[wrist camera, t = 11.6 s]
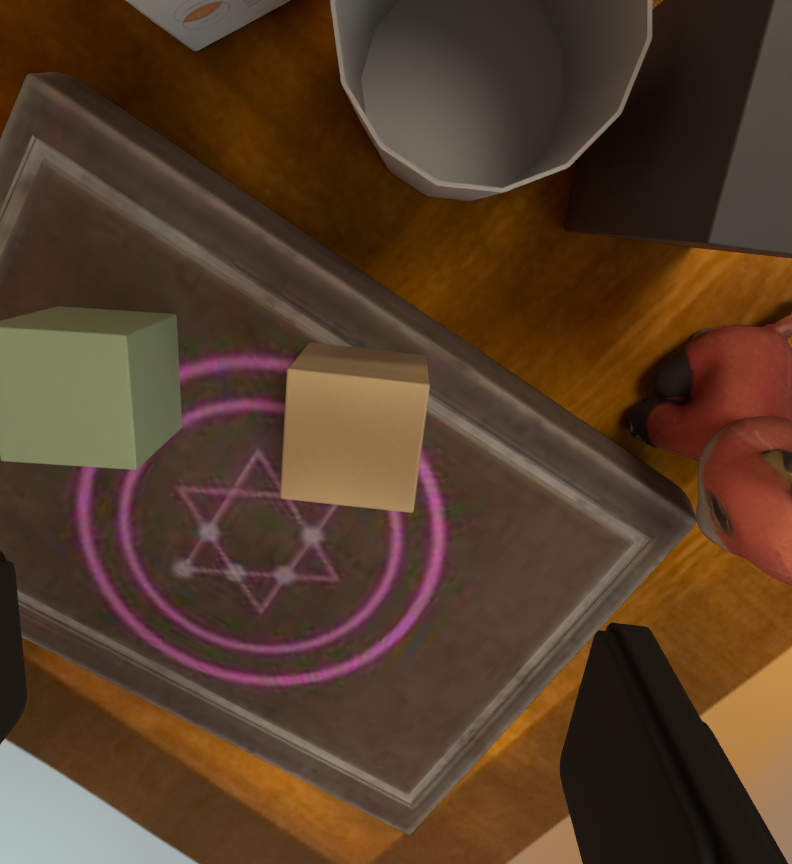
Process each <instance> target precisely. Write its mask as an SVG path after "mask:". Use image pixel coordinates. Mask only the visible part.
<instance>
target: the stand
mask: <svg viewBox="0 0 792 864" xmlns="http://www.w3.org/2000/svg"><path fill="white" fill-rule="evenodd" d="M564 230H565V231H571V232H578V233H586V234H594V235H601V236H609V237H617V238H624V239H632V240H640V241H648V242H655V243H663V244H671V245H678V246H686V247H694V248H703V249H712V250H721V251H730V252H739V253H749V254H758V255H767V256H776V257H785V258H792V0H664V1H662V2H661V3H660V4H659V5H658V6H657V7H655V8H654V9H653V10H652V40H651V42H650V45H649V47H648V50H647V52H646V55H645V57H644V60H643V62H642V64H641V67H640V69H639V72H638V74H637V77H636V79H635V82H634V84H633V86H632V89H631V91H630V94H629V96H628V99H627V101H626V104H625V106H624V109H623V111H622V113H621V115H620V116H619V117H618V118H617V119H616V120H615V121H614V122H613V123H612V124H611V125H610V126H609V127H608V128H607V129H606V130H605V131H604V132H603V133H602V134H601V135H600V136H599V137H598V138H597V139H596V140H595V141H594V142H593V143H592V144H591V145H590V146H589V147H588V148H587V149H586V150H585V151H584V152H583V153H582V154H581V155H580V156H579V157H578V162H577V167H576V172H575V177H574V182H573V187H572V192H571V198H570V203H569V208H568V213H567V218H566V223H565V228H564Z"/></svg>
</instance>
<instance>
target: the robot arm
mask: <svg viewBox="0 0 792 864" xmlns="http://www.w3.org/2000/svg"><path fill="white" fill-rule="evenodd" d="M26 700H27V689H26V679H25V668H24V658H23V647H22V636H21V626H20V615H19V605H18V594H17V583H16V573H15V567H14V564H13V563H12V562H11V561H7V560H6V557H5V555H4V554H3V552H1V551H0V744H1V742H2V741H3V740H4V739H5V737H6V736H7V735H8V734H9V732H10V731H11V730H12V728H13V727H14V726H15V724H16V723H17V722H18V720H19V719H20V717H21V715H22V713H23V711H24V708H25V705H26ZM560 776H561V782H562V786H563V790H564V794H565V798H566V801H567V805H568V809H569V813H570V817H571V820H572V824H573V828H574V832H575V836H576V840H577V843H578V847H579V851H580V855H581V858H582V862H583V864H788V863H787V861H786V859H785V857H784V856H783V854H782V852H781V851H780V849H779V847H778V845H777V844H776V842H775V840H774V838H773V837H772V835H771V833H770V831H769V830H768V828H767V826H766V824H765V823H764V821H763V819H762V817H761V816H760V814H759V812H758V810H757V809H756V807H755V805H754V804H753V802H752V800H751V798H750V797H749V795H748V793H747V791H746V789H745V788H744V786H743V784H742V783H741V781H740V779H739V777H738V775H737V774H736V772H735V770H734V769H733V767H732V765H731V763H730V762H729V760H728V758H727V756H726V755H725V753H724V751H723V749H722V748H721V746H720V745H719V743H718V741H717V739H716V737H715V735H714V734H713V732H712V731H711V729H710V728H709V727H708V725H707V724H706V723H704V722H703V721H702V720H701V719H700V717H699V715H698V713H697V711H696V710H695V708H694V706H693V704H692V703H691V701H690V699H689V697H688V696H687V694H686V692H685V690H684V688H683V687H682V685H681V683H680V681H679V680H678V678H677V676H676V674H675V673H674V671H673V669H672V667H671V665H670V664H669V662H668V660H667V658H666V657H665V655H664V653H663V651H662V650H661V648H660V646H659V644H658V643H657V641H656V639H655V637H654V635H653V634H652V632H651V631H650V629H649V628H647V627H644V626H636V625H627V624H619V623H611V624H609V625H608V626H607V628H606V631H600V630H599V631H597V632H596V634H595V636H594V639H593V642H592V646H591V650H590V653H589V657H588V660H587V664H586V668H585V671H584V675H583V678H582V682H581V686H580V689H579V693H578V696H577V700H576V703H575V707H574V711H573V714H572V718H571V721H570V725H569V729H568V732H567V736H566V739H565V743H564V747H563V750H562V754H561V759H560Z"/></svg>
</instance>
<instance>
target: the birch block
mask: <svg viewBox="0 0 792 864" xmlns="http://www.w3.org/2000/svg"><path fill="white" fill-rule="evenodd" d="M429 390H430V383H429V375H428V367H427V359H426V356H425V355H420V354H411V353H402V352H393V351H384V350H375V349H366V348H357V347H348V346H339V345H331V344H322V343H313V342H310V343H308V344H307V345H306V347H305V348H304V349H303V350H302V352H301V353H300V354H299V355H298V357H297V358H296V359H295V360H294V362H293V363H292V364H291V366H290V367H289V368H288V370H287V379H286V397H285V416H284V434H283V452H282V470H281V488H280V497H281V498H282V499H288V500H297V501H307V502H316V503H325V504H335V505H344V506H353V507H362V508H372V509H381V510H390V511H400V512H409V513H412V512H413V511H414V505H415V497H416V490H417V482H418V474H419V467H420V459H421V451H422V444H423V436H424V429H425V421H426V413H427V406H428V398H429Z"/></svg>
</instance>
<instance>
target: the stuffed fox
mask: <svg viewBox="0 0 792 864" xmlns="http://www.w3.org/2000/svg"><path fill="white" fill-rule="evenodd" d="M791 335H792V313H791V314H790V316H788V317H785V318H783V319H781V320H780V321H778V322H777V323H775V324H767V325H765V326H763V327H754V326H747V325H731V326H726V325H722V326H721V327H719V328H711V329H707V328H705V329H703V330H701V331H700V332H698V333H697V334H695V335H694V336H693V337H691V339H692V340H690V341H689V342H688V343H686V344H685V345H683V346H681V347H680V348H678V349H676V350H675V351H673V352H674V353H672V354H671V355H670V356H669V357H668V358H666V359H665V360H663V361H662V362H661V363H660V365H659V366H658V368H657V370H656V371H655V374H654V377H653V386H652V387H651V388H650V389H649V390H648V392H647V396H646V399H643V400H641V401H642V402H640V403H638V404H636V405H635V406H633V407H632V409H631V411H630V414H629V416H630V421H629V423H630V424H631V425H632V426H631V427H630V429H631V430H632V432H631V434H632V435H633V437H635V438H636V439H638V440H640V441H641V442H645V443H646V444H647V445H651V446H652V447H655V448H660V449H663V450H666V451H668V452H671V453H674V454H677V455H680V456H684V457H688V458H692V459H695V460H697V461H699V467H698V495H699V496H698V505H697V512H696V518H697V523H698V526H699V528H700V530H701V531H702V533H703V534H704V535H705V536H706V537H707V538H708V539H710V540H711V541H712V542H713V543H715V544H716V545H718V546H719V547H721V548H722V549H724V550H725V551H727V552H730V553H732V554H735V555H738V556H741V557H743V558H745V559H747V560H748V561H750V562H751V563H753V564H754V565H755V566H757V567H758V568H759V569H761V570H762V571H763V572H765V573H767V574H768V575H770V576H771V577H773V578H775V579H777V580H779V581H782V582H784V583H786V584H789V585H791V586H792V348H791V347H790V345H789V343H788V340H787V339H788V337H790V336H791Z"/></svg>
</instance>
